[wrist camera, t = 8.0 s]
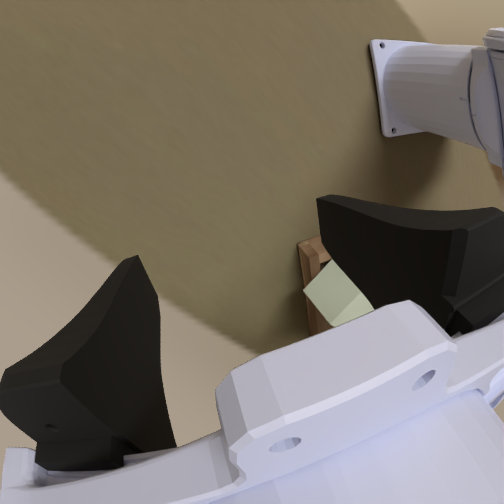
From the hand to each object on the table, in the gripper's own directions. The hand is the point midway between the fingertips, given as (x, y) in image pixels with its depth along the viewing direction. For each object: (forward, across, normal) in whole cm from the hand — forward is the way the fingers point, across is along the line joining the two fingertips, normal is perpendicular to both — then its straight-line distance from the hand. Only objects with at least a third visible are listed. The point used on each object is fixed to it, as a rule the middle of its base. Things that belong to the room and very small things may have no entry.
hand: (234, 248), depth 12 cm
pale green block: (+8, -9, +12) cm, 16 cm away
